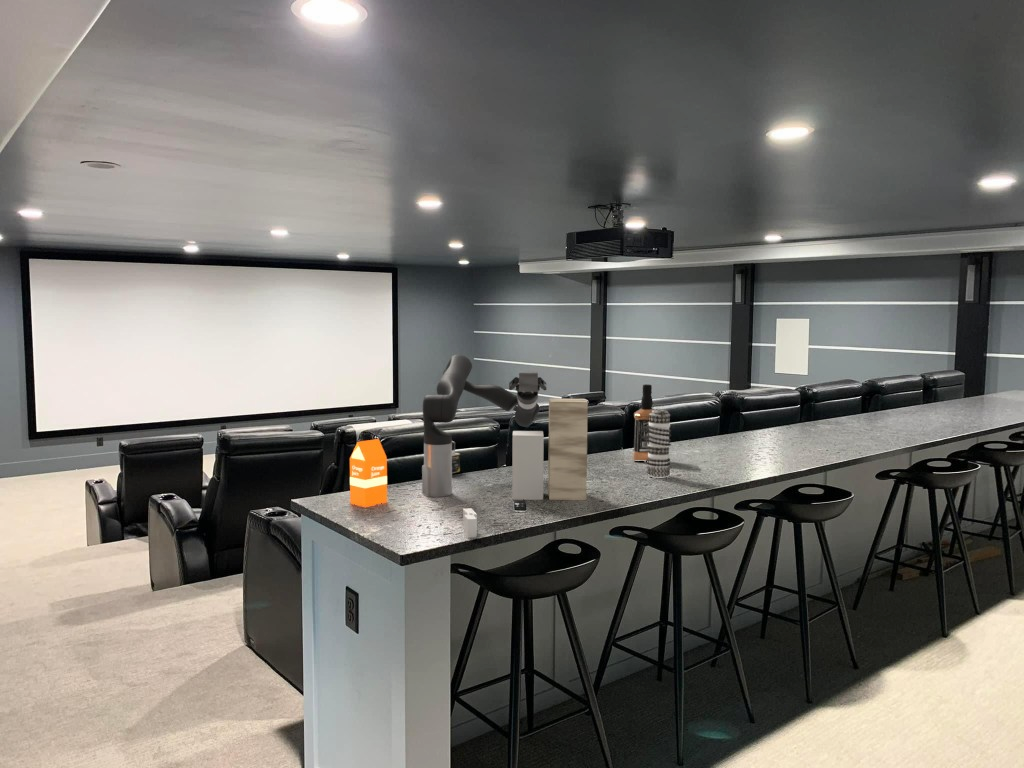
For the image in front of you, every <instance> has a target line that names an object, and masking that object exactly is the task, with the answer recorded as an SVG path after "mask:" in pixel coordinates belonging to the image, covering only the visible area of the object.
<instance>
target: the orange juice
mask: <svg viewBox="0 0 1024 768" xmlns="http://www.w3.org/2000/svg"><path fill="white" fill-rule="evenodd" d="M385 452H386V451H385V450H384V448H383V445H382V443H381V441H380V439H379V438H377V439H376V438H375V439H370V440H369V439H368V440H361V441H357V442H356V445H355V447H354V448H353V451H352V453H351V455H350V457H349V489H350V490H349V493H350V494H349V496H350V499H349V501H350V503H351V505H354V504H355V505H356V506H358V507H363V508H369V507H373V506H376V504H378V505H382V504H386V503H388V463H387V461H388V458H387V457H388V456H387V455H386V453H385ZM381 503H382V504H381Z"/></svg>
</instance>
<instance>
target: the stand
mask: <svg viewBox="0 0 1024 768" xmlns="http://www.w3.org/2000/svg"><path fill="white" fill-rule="evenodd" d="M588 404H589V403H588V401H587V399H586V398H548V463H547V465H548V466H547V467H548V471H547V473H548V474H547V476H548V478H547V480H548V481H547V484H548V485H547V489H548V490H547V492H548V493H547V494H548V500H550V501H587V484H588V483H587V482H588V481H587V477H588V476H587V475H588V471H587V470H588V468H587V467H588V407H589V405H588Z"/></svg>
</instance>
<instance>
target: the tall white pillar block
mask: <svg viewBox="0 0 1024 768" xmlns="http://www.w3.org/2000/svg"><path fill="white" fill-rule="evenodd" d="M544 438H545V437H544V431H543V430H513V431H512V445H511V446H512V462H511V463H512V465H511V466H512V468H511V469H512V471H511V472H512V474H511V475H512V478H511V479H512V480H511V481H512V484H511V486H512V487H511V488H512V489H511V491H512V492H511V493H512V494H511V496H512V497H511V498H512V500H515V501H516V500H518V501H522V500H523V499H524V500H526V501H527V500H531V501H536V500H537V501H543V500H544V449H545V448H544V444H545V442H544V441H545V439H544Z"/></svg>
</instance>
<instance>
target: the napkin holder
mask: <svg viewBox="0 0 1024 768" xmlns="http://www.w3.org/2000/svg"><path fill="white" fill-rule="evenodd" d="M462 509H463V510H462V511H463V512H462V526H463V529H464V533H463V534H464V535H466V537H467V538H477V537H478V536H477V535H478V514H477V513H476V512H475V511H474V509H473V508H470V507H469V508H468V507H467V508H462Z"/></svg>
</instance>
